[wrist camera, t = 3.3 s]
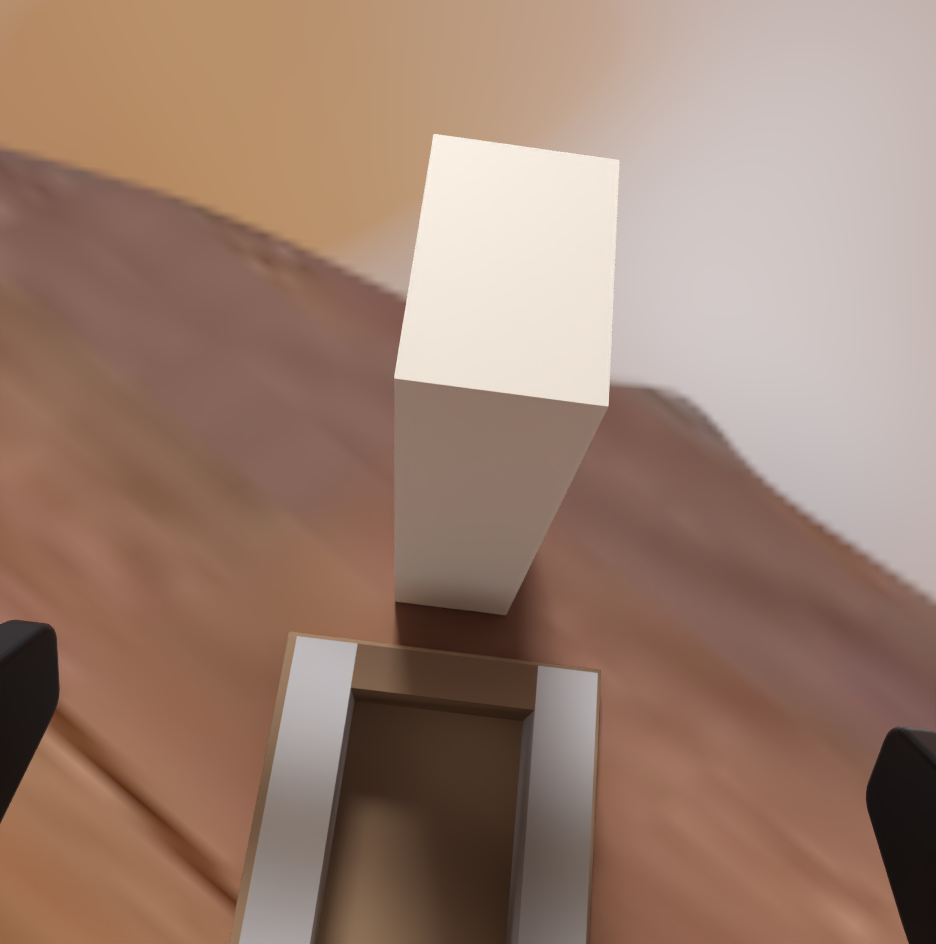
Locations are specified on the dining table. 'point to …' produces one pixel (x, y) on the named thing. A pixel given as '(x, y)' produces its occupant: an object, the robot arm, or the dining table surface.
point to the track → (422, 800)
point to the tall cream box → (498, 363)
